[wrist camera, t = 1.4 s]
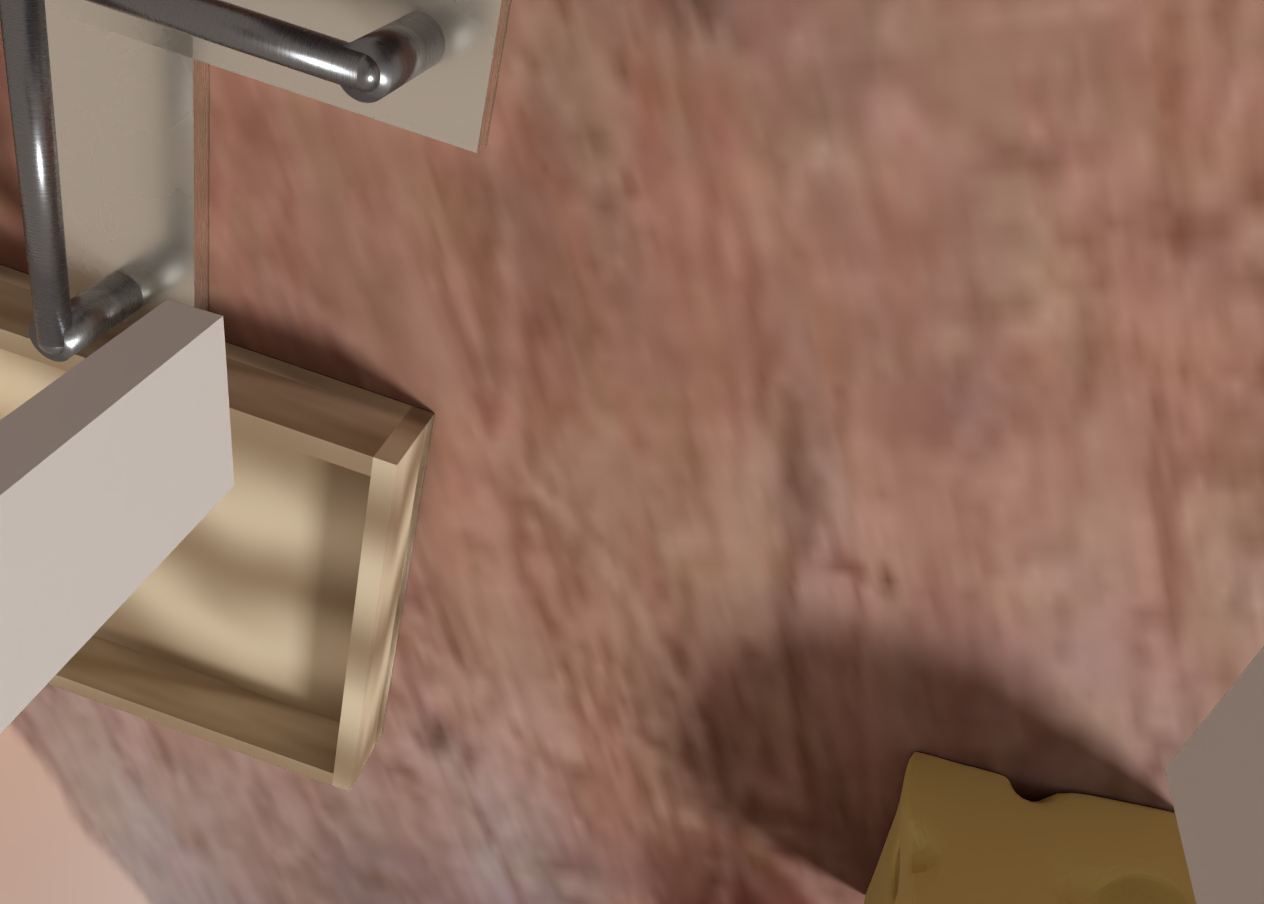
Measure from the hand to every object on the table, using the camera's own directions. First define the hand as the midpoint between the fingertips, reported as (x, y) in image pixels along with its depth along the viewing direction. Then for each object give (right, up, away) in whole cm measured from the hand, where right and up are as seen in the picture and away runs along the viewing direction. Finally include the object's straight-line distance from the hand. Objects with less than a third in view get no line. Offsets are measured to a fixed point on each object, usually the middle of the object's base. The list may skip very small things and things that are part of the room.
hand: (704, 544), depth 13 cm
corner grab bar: (-12, +10, +18) cm, 24 cm away
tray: (-18, -2, +27) cm, 33 cm away
